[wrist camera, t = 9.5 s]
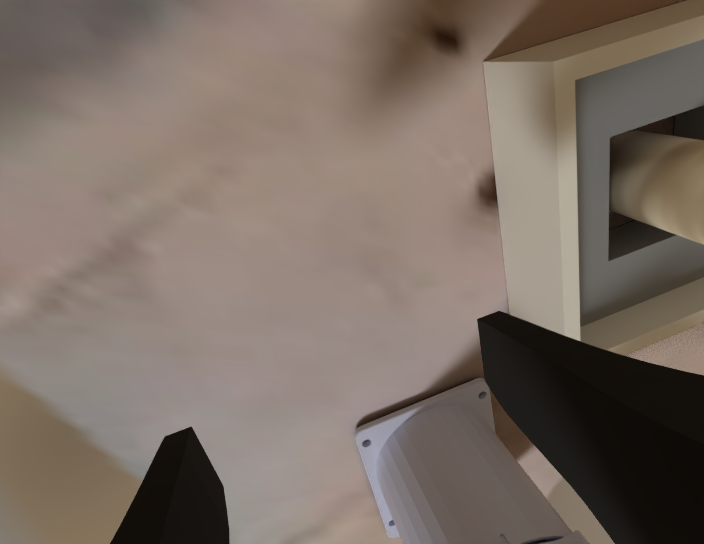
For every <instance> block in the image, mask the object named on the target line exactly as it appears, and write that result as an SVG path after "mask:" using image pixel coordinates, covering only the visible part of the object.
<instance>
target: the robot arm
mask: <svg viewBox="0 0 704 544" xmlns="http://www.w3.org/2000/svg"><path fill="white" fill-rule="evenodd" d="M477 321H478V329H479V337H480V345H481V353H482V361H483V368H484V376H485V379H484V378H477V379H474V380H472V381H469V382H467V383H465V384H462V385H460V386H457V387H455V388H452V389H450V390H447V391H445V392H443V393H440V394H438V395H435V396H433V397H430V398H428V399H425V400H423V401H420V402H418V403H416V404H413V405H411V406H408V407H406V408H403V409H401V410H398V411H396V412H394V413H391V414H389V415H386V416H384V417H381V418H379V419H376V420H374V421H371V422H369V423H367V424H364V425H362V426H360V427H358V428H357V429H356V430H355V432H354V437H355V440H356V443H357V446H358V449H359V452H360V455H361V458H362V461H363V464H364V467H365V469H366V472H367V475H368V478H369V481H370V484H371V487H372V490H373V493H374V496H375V499H376V502H377V505H378V508H379V511H380V514H381V517H382V520H383V523H384V526H385V529H386V532H387V534H388V536H389V537H390V538H397V537H399V536H400V538H401V540H402V543H403V544H589V543H588V542H587V540H586V539H585V538H584V536H583V535H582V534H581V533H580V532H579V531H574V532H572V531H571V530H570V528H569V527H568V526H567V525H566V523H565V522H564V521H563V519H562V518H561V517H560V516H559V514H558V513H557V512H556V510H555V509H554V508H553V507H552V505H551V504H550V503H549V502H548V500H547V499H546V498H545V496H544V495H543V494H542V492H541V491H540V490H539V489H538V487H537V486H536V485H535V483H534V482H533V481H532V480H531V478H530V477H529V476H528V475H527V473H526V472H525V471H524V469H523V468H522V467H521V466H520V464H519V463H518V462H517V460H516V459H515V458H514V457H513V455H512V454H511V453H510V451H509V450H508V449H507V448H506V446H505V445H504V444H503V442H502V441H501V440H500V439H499V437H498V436H497V435H496V431H495V424H494V417H493V410H492V403H491V395H490V390H491V391H492V393H493V394H494V396H495V397H496V399H497V400H498V402H499V403H500V404H501V406H502V407H503V409H504V410H505V412H506V413H507V414H508V416H509V417H510V418H511V419H512V420H513V421H514V423H515V424H516V425H517V426H518V427H519V428H520V429H521V430H522V432H523V433H524V434H525V435H526V436H527V437H528V438H529V440H530V441H531V442H532V443H533V444H534V445H535V446H536V447H537V449H538V450H539V451H540V452H541V453H542V454H543V455H544V456H545V457H546V459H547V460H548V461H549V462H550V463H551V464H552V465H553V466H554V468H555V469H556V470H557V471H558V472H559V473H560V474H561V475H562V476H563V478H564V479H565V480H566V481H567V482H568V483H569V484H570V485H571V486H572V488H573V489H574V490H575V491H576V493H577V494H578V495H579V496H580V497H581V499H582V500H583V501H584V502H585V504H586V505H587V506H588V508H589V509H590V510H591V512H592V513H593V514H594V516H595V517H596V518H597V520H598V521H599V523H600V524H601V525H602V526H603V528H604V529H605V531H606V532H607V533H608V535H609V536H610V537H611V539H612V540H613V541H614V543H615V544H704V376H703V375H699V374H694V373H689V372H685V371H680V370H676V369H672V368H668V367H664V366H660V365H656V364H652V363H648V362H644V361H641V360H637V359H633V358H630V357H627V356H624V355H620V354H617V353H614V352H611V351H608V350H604V349H601V348H598V347H595V346H592V345H589V344H586V343H584V342H581V341H578V340H575V339H572V338H570V337H567V336H564V335H562V334H559V333H556V332H554V331H551V330H548V329H546V328H543V327H541V326H538V325H536V324H533V323H530V322H528V321H525V320H523V319H520V318H517V317H515V316H512V315H509V314H507V313H504V312H501V311H498V312H495V313H492V314H490V315H487V316H484V317H482V318H479V319H477ZM481 392H482V393H481ZM480 393H481V394H480ZM479 394H480V395H479ZM365 440H367V441H366V442H363V441H365ZM110 544H229V525H228V516H227V508H226V501H225V494H224V487H223V485H222V483H221V481H220V479H219V477H218V475H217V473H216V471H215V470H214V468H213V466H212V464H211V462H210V460H209V458H208V456H207V455H206V453H205V451H204V449H203V447H202V445H201V443H200V442H199V440H198V438H197V436H196V434H195V432H194V430H193V428H192V427H189V428H186V429H184V430H181V431H178V432H176V433H173V434H170V435H168V436H165V437H164V439H163V441H162V443H161V445H160V447H159V449H158V451H157V453H156V455H155V457H154V459H153V461H152V463H151V465H150V467H149V469H148V471H147V473H146V475H145V478H144V480H143V482H142V484H141V486H140V488H139V490H138V492H137V494H136V496H135V498H134V500H133V502H132V503H131V505H130V507H129V509H128V511H127V513H126V515H125V517H124V519H123V521H122V523H121V525H120V527H119V528H118V530H117V532H116V534H115V536H114V538H113V540H112V541H111V543H110Z"/></svg>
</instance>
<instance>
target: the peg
mask: <svg viewBox="0 0 704 544" xmlns="http://www.w3.org/2000/svg"><path fill="white" fill-rule="evenodd" d="M609 210H610V211H613V212H616V213H618V214H621V215H624V216H626V217H629V218H632V219H635V220H637V221H640V222H643V223H646V224H648V225H651V226H654V227H657V228H659V229H662V230H665V231H667V232H670V233H673V234H676V235H678V236H681V237H684V238H687V239H689V240H692V241H695V242H698V243H700V244H703V245H704V141H703V140H697V139H691V138H684V137H678V136H671V135H665V134H659V133H652V132H646V131H639V130H630V131H627V132H624V133H621V134H618V135H616V136H614V137H613V138H611V139H610V166H609Z"/></svg>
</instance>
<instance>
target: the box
mask: <svg viewBox="0 0 704 544" xmlns="http://www.w3.org/2000/svg"><path fill="white" fill-rule="evenodd" d="M483 65H484V75H485V84H486V94H487V103H488V113H489V123H490V132H491V142H492V151H493V161H494V171H495V180H496V190H497V199H498V209H499V218H500V228H501V238H502V247H503V257H504V266H505V276H506V285H507V295H508V305H509V314H510V315H512V316H515V317H517V318H520V319H523V320H525V321H528V322H530V323H533V324H536V325H538V326H541V327H543V328H546V329H548V330H551V331H554V332H556V333H559V334H562V335H564V336H567V337H570V338H572V339H575V340H578V341H581V342H584V343H586V344H589V345H592V346H595V347H598V348H601V349H604V350H608V351H611V352H614V353H617V354H620V355H624V356H625V355H627V354H630V353H632V352H634V351H637V350H639V349H641V348H644V347H646V346H649V345H651V344H653V343H656V342H658V341H660V340H663V339H665V338H668V337H670V336H672V335H675V334H677V333H679V332H682V331H684V330H687V329H689V328H691V327H694V326H696V325H698V324H701V323H703V322H704V245H703V244H700V243H698V242H695V241H692V240H689V239H687V238H684V237H681V236H678V235H676V234H673V233H670V232H667V231H665V230H662V229H659V228H657V227H654V226H651V225H648V224H646V223H643V222H640V221H637V220H635V221H632V222H629V223H627V224H624V225H621V226H619V227H616V228H613V229H611V230H609V166H610V137H612V136H615V135H618V134H621V133H624V132H627V131H630V130H633V129H636V128H638V127H641V126H644V125H647V124H650V123H653V122H656V121H659V120H662V119H665V118H668V117H671V116H673V115H675V125H674V136H678V137H684V138H691V139H697V140H703V141H704V0H686V1H683V2H679V3H676V4H673V5H669V6H666V7H663V8H660V9H656V10H653V11H650V12H646V13H643V14H640V15H636V16H633V17H630V18H627V19H623V20H620V21H617V22H613V23H610V24H607V25H603V26H600V27H597V28H594V29H590V30H587V31H584V32H580V33H577V34H574V35H570V36H567V37H564V38H561V39H557V40H554V41H551V42H547V43H544V44H541V45H537V46H534V47H531V48H527V49H524V50H521V51H518V52H514V53H511V54H508V55H504V56H501V57H498V58H494V59H491V60H488V61H485V62H483Z"/></svg>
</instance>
